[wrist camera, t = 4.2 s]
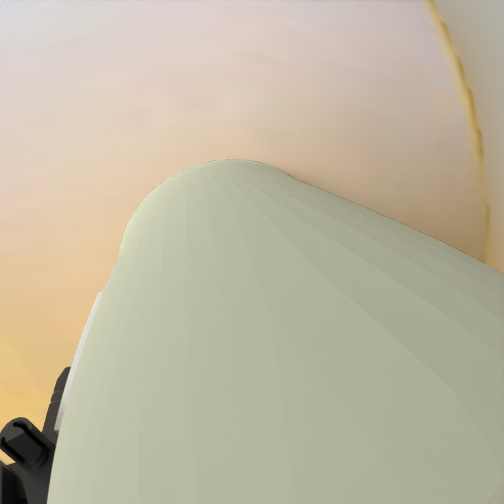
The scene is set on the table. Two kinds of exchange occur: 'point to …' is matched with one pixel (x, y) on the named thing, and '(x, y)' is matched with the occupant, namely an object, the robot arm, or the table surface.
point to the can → (284, 356)
